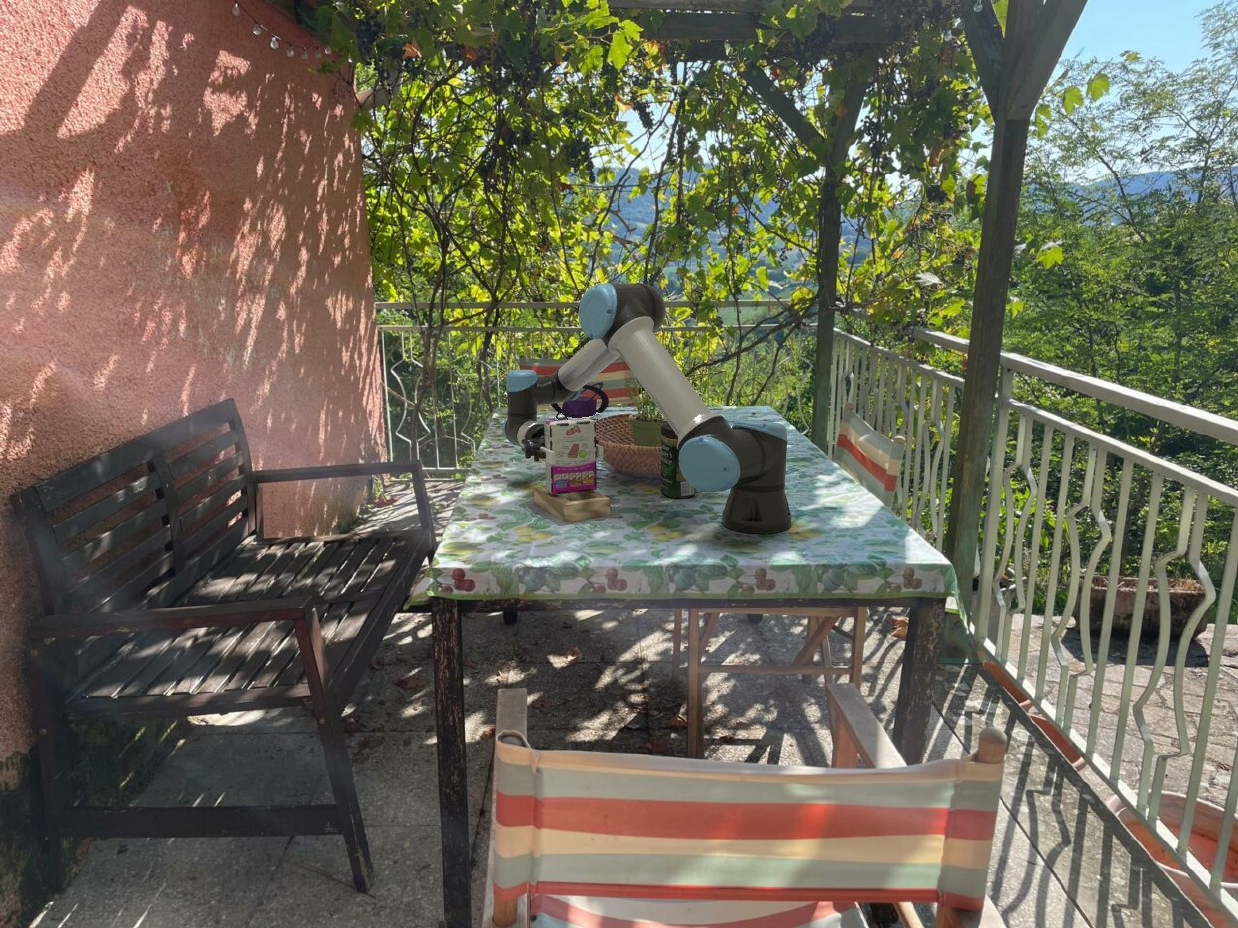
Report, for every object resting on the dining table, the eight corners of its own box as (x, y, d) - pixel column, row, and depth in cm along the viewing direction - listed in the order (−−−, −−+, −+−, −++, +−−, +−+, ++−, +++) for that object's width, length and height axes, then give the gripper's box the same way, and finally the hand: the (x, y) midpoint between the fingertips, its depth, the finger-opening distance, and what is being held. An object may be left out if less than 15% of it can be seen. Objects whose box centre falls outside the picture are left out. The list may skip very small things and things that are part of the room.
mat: (582, 497, 209) (582, 495, 208) (623, 517, 192) (623, 515, 192) (522, 505, 201) (522, 504, 201) (559, 527, 184) (559, 525, 184)
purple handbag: (612, 417, 322) (612, 351, 316) (606, 427, 301) (606, 357, 296) (554, 416, 324) (553, 351, 318) (544, 426, 303) (542, 356, 298)
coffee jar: (655, 490, 215) (656, 418, 211) (684, 488, 217) (685, 417, 213) (670, 500, 206) (671, 425, 202) (699, 497, 208) (701, 423, 204)
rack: (575, 497, 206) (575, 482, 206) (610, 515, 192) (610, 498, 191) (534, 503, 201) (533, 487, 200) (566, 522, 186) (566, 505, 185)
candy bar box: (589, 485, 200) (589, 417, 196) (597, 490, 195) (597, 420, 191) (544, 489, 195) (543, 420, 192) (551, 495, 191) (550, 423, 187)
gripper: (581, 448, 215) (623, 466, 197) (493, 458, 204) (529, 477, 185) (581, 419, 213) (624, 434, 195) (492, 427, 202) (529, 444, 183)
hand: (578, 455), depth 190 cm, fingers closed on candy bar box, 11 cm apart
